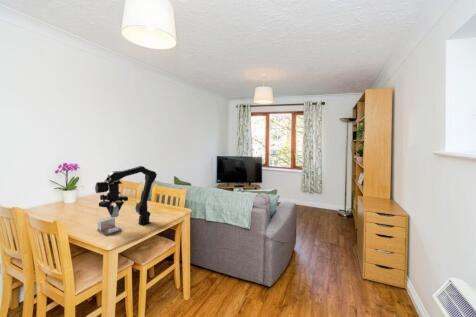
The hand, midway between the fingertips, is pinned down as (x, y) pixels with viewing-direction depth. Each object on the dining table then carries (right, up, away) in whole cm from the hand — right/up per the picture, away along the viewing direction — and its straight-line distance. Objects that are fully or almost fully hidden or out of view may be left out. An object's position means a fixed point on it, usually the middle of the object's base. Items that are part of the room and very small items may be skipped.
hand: (114, 213), depth 153 cm
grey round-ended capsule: (0, -2, 0) cm, 2 cm away
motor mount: (-4, -12, +1) cm, 12 cm away
